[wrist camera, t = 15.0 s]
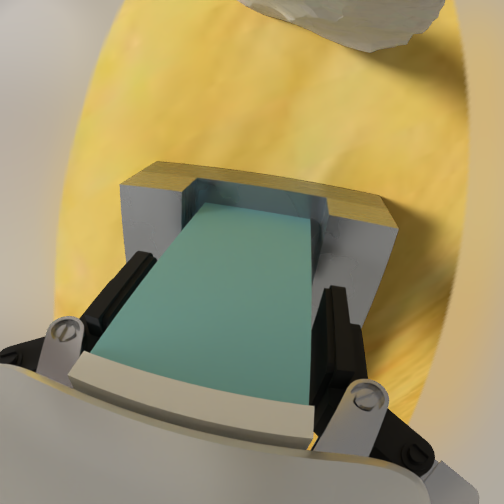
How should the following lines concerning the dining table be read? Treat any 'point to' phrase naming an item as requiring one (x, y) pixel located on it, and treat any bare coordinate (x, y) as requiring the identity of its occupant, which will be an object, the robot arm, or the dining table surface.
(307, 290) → the teal rectangular block
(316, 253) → the slot board
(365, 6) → the stone tool
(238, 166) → the dining table surface
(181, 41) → the dining table surface
